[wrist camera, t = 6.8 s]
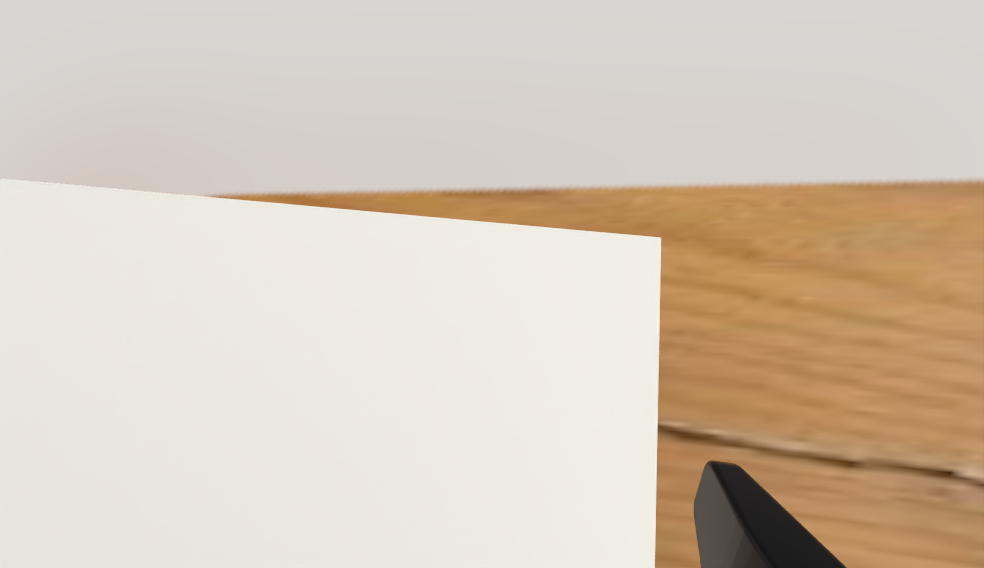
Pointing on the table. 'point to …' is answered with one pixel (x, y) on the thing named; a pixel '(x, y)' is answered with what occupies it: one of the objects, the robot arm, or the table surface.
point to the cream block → (319, 387)
